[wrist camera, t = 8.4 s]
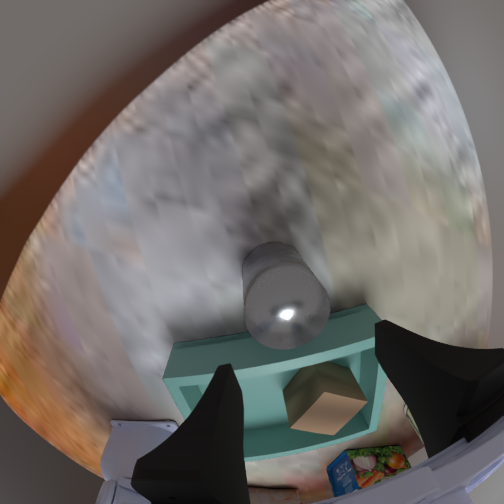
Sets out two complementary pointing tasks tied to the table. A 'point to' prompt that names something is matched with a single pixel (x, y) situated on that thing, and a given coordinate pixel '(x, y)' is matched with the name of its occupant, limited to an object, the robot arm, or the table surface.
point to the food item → (273, 496)
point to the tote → (282, 380)
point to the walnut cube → (322, 398)
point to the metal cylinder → (282, 297)
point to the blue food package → (365, 468)
